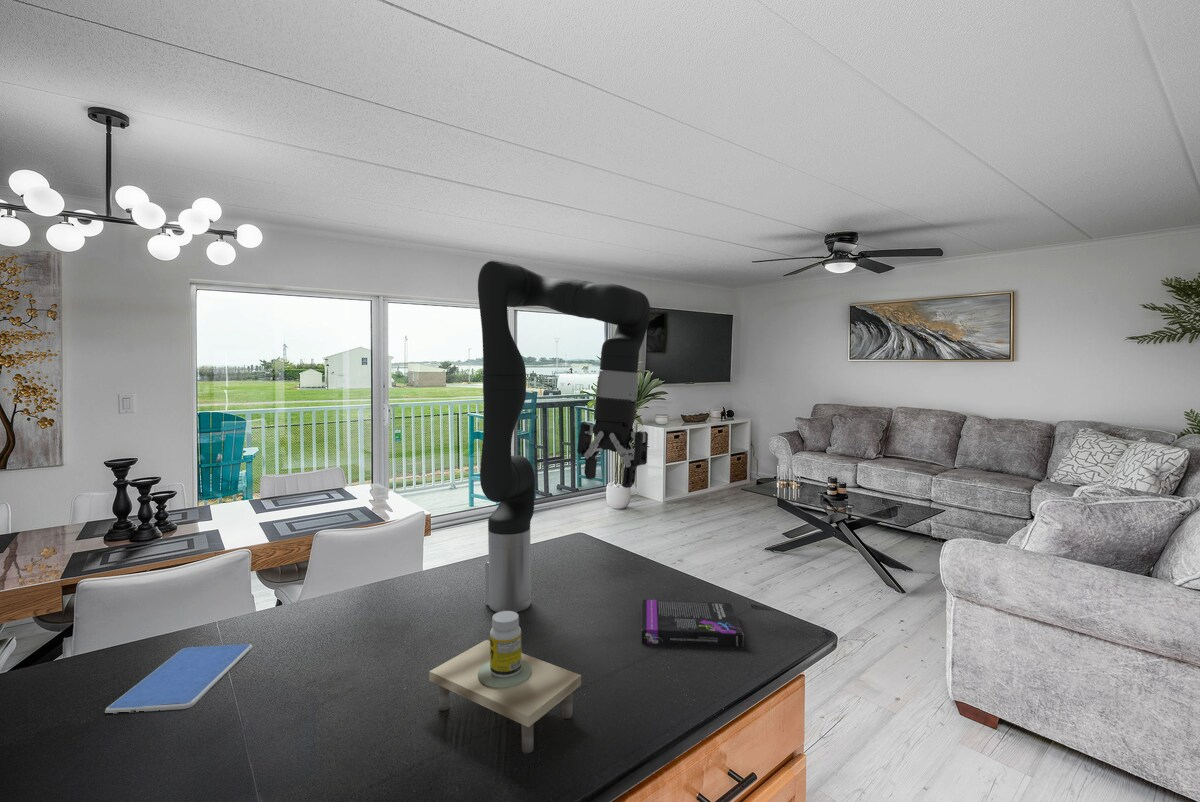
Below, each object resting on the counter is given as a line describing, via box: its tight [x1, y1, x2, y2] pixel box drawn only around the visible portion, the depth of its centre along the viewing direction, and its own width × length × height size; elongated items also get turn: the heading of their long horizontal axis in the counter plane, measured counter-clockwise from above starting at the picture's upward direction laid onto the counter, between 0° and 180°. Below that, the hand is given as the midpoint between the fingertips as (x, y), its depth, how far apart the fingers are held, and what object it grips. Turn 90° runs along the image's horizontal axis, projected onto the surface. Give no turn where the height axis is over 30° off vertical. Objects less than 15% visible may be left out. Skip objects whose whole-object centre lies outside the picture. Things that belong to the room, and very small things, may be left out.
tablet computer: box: [104, 643, 253, 714], centre depth 93 cm, size 19×13×1 cm, turn 6°
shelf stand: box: [428, 639, 582, 754], centre depth 84 cm, size 20×12×6 cm, turn 56°
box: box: [640, 599, 745, 648], centre depth 111 cm, size 14×4×20 cm
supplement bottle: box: [489, 611, 522, 678], centre depth 83 cm, size 5×5×8 cm
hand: (608, 482), depth 102 cm, fingers open, 8 cm apart
